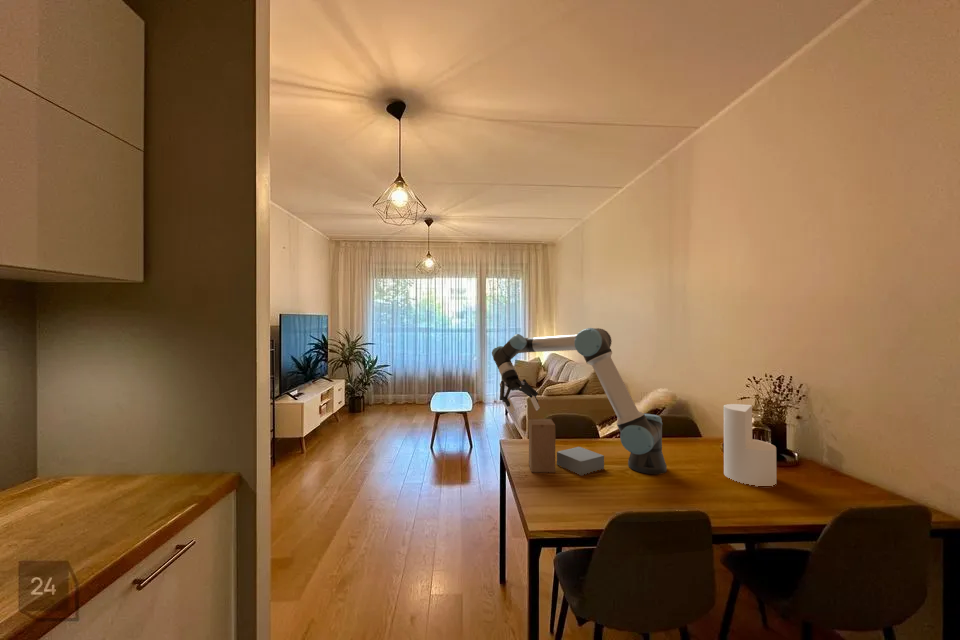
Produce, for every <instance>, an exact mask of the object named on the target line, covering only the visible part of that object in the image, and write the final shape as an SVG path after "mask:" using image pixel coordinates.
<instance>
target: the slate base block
mask: <svg viewBox="0 0 960 640" xmlns="http://www.w3.org/2000/svg"><path fill="white" fill-rule="evenodd" d="M558 465H559V466H558ZM556 466H558V467H560V466H561V468H563V469H565V468H566V469H565V470H567V469H568V470H567V471H569V470H570V471H569V472H572V471H573V472H572V473H574V472H575V473H574V474H576V473H577V475H578V474H579V476H584V474H585V475H588V474H591V473H590V472H592V473H594V472H593V471H595V472H598V471H597V470H599V471H601V469H602V470H605V455H603V454H600V453H598V452H595V451H592V450H590V449H587V448H584V447H581V446H575V447H573V448H568V449H562V450H558V451H556ZM587 473H588V474H587Z"/></svg>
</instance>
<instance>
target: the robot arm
mask: <svg viewBox="0 0 960 640" xmlns="http://www.w3.org/2000/svg"><path fill="white" fill-rule="evenodd" d="M612 341H613V339H612V337H611V335H610V333H609V332H608V331H607V330H605V329H603V328H599V327H598V328H597V327H596V328H594V327H588V328H584V329H582V330H580V331H579V332H578V333H576V334H565V335H564V334H563V335H553V336H552V335H550V336H549V335H548V336H537V337H524V336H523V335H522V334H519V333H515V334H514V335H513V336H511V338H510V339H509V340H508V341H507V342H506V343H505V344H504V345H503V346H502V345H498V346H496V347H494V348H493V349H492V351H491V355H492V358H493V361H494V363H495V365H496V367H497V369H498V372H499V374H500V376H501V379H502V380H501V382H500V383H499V387H500V389H499V390H500V392H499V401H502V402H503V403H505V406H506V407H507V408H508V409H509V412H510V413H511V414H514V413H515V411H516V409H515V407H514V405H513V402H512V400H511V398H510V397H509V396H510V393H511V391H520V392H521V393H524V394H525V395H526V396H528V397H529V398H530V401H531V403H532V405H533V408H534V409H535V411H536V412H537V411H539V409H540V408H541V407H540V405H539V400H538V398H537V396H538V394H539V393H538V391H536V390H535V389H534V387H532V386H531V384H529V383H528V381H527V380H526V379H522V380H520V379H519V375H518V372H517V370H516V369H515V366H514V365H513V362H512V359H514V358H515V357H516V356H517V355H518V354H522V353H523V354H524V353H537V352H538V353H539V352H541V353H542V352H559V351H560V352H566V351H567V352H569V351H577V353H579V355H581V356H583V359H584V360H585V362H586V364H588V365H590V366H591V367H592V369H593V370H594V373H595V375H596V376H597V379H598V381H599V382H600V385H601V387H602V389H603V390H604V394H605V395H606V397H607V399H608V401H609V403H610V405H611V407H612V410H613V411H614V413H615V415H616V417H617V422H616V426H617V428H618V430H619V433H620V436H619V437H620V438H619V439H620V440H619V441H620V443H621V445H622V446H623V448H624V449H625V450H627V451H628V452H629V453H630V454H629V457H628V460H627V465H628V467H629V468H630V469H631V470H634V471H636V472H638V473H642V474H647V475H648V474H649V475H661V474H662V475H663V474H665V473H666V472H667V468H668V467H667V463H666V461H665V457H664V454H663V422H662V421H663V419H662V416H660V415H657V414H651V413H644V412H641V411H639V410H638V408H637V406H636V404H635V402H634V400H633V398H632V395H631V394H630V392H629V390H628V388H627V386H626V384H625V382H624V381H623V378H622V376H621V375H620V373H619V371H618V368H617V367H616V364H615V363H614V361H613V358H612V354H613V351H612V348H611V347H612ZM505 387H507V389H506V393H505Z"/></svg>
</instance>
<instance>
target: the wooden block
mask: <svg viewBox="0 0 960 640" xmlns="http://www.w3.org/2000/svg"><path fill="white" fill-rule="evenodd" d="M528 464H529V468H530V472H531V473H548V472H549V473H554V474H555V473H556V424H555V422H554V421H553V420H552V418H529V419H528ZM549 473H548V474H549Z"/></svg>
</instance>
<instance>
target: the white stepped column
mask: <svg viewBox="0 0 960 640" xmlns="http://www.w3.org/2000/svg"><path fill="white" fill-rule="evenodd" d="M723 475H724V476H725V477H726V478H728V479H729V478H730V480H731V479H732V480H731V481H733V480H734V482H736V481H737V482H736V483H739V482H740V484H743V483H744V484H743V485H746V484H749V485H748V486H751V485H755V486H754V487H758V486H772V487H774V486H773V485H775V484H776V485H777V447H776V445H774V444H771V443H770V442H768V441H767V442H766V441H764V440H759V439H754V438H753V405H752V404H743V403H728V404H724V405H723ZM776 485H775V486H776Z"/></svg>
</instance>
